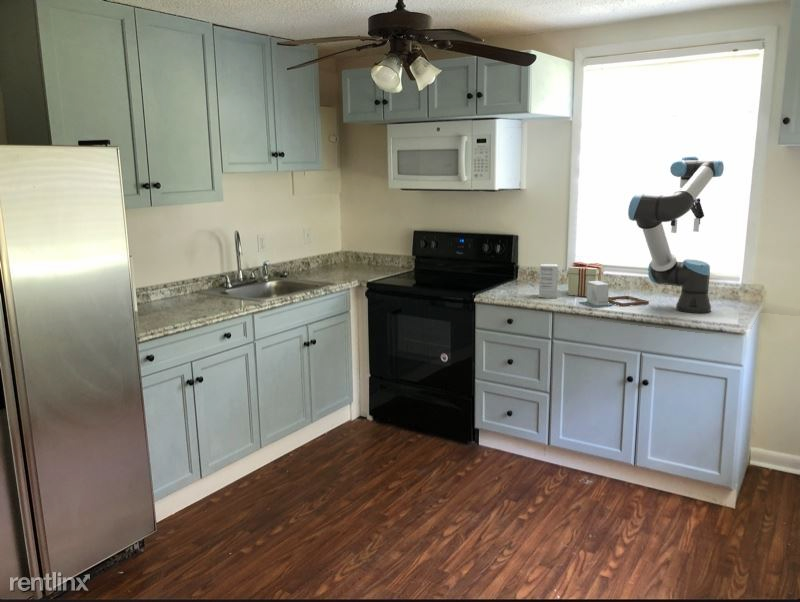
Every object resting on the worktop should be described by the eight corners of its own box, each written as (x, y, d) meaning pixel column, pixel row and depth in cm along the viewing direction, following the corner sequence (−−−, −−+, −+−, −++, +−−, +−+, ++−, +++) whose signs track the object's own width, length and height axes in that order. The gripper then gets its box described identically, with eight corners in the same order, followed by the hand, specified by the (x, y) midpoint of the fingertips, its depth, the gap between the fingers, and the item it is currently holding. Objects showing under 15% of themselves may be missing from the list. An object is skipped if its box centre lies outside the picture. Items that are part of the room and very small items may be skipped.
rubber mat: (614, 305, 329) (614, 304, 328) (593, 307, 325) (593, 306, 325) (599, 301, 340) (599, 300, 340) (579, 303, 336) (579, 301, 336)
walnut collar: (648, 304, 332) (648, 301, 331) (621, 306, 326) (621, 303, 326) (627, 298, 346) (627, 295, 346) (601, 300, 341) (601, 297, 341)
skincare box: (585, 301, 336) (586, 281, 334) (597, 300, 338) (598, 280, 336) (596, 305, 326) (597, 284, 324) (608, 305, 328) (609, 283, 326)
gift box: (604, 292, 364) (605, 260, 361) (597, 298, 348) (598, 265, 345) (572, 290, 372) (574, 259, 368) (564, 295, 356) (565, 263, 352)
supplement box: (557, 298, 348) (558, 266, 345) (538, 298, 350) (540, 266, 347) (556, 295, 357) (557, 263, 354) (538, 294, 359) (539, 263, 356)
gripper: (702, 187, 336) (699, 230, 340) (661, 188, 328) (659, 232, 332) (714, 188, 329) (710, 231, 333) (672, 189, 321) (669, 233, 325)
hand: (684, 232), depth 332 cm, fingers open, 13 cm apart
